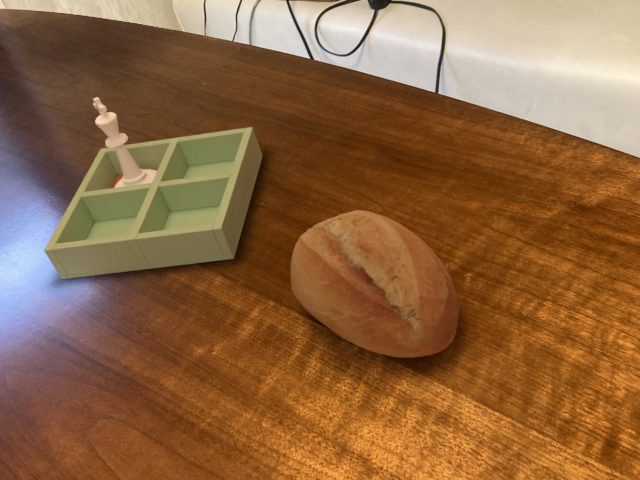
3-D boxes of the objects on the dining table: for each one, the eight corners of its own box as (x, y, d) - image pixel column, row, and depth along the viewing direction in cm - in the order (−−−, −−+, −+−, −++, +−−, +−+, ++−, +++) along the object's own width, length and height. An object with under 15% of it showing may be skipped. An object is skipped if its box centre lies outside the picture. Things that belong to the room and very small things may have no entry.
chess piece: (148, 169, 79) (106, 80, 72) (173, 184, 76) (132, 92, 69) (107, 194, 77) (59, 104, 70) (131, 210, 74) (84, 118, 67)
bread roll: (397, 406, 52) (374, 323, 46) (270, 310, 61) (238, 231, 55) (494, 324, 55) (483, 238, 50) (361, 245, 65) (340, 166, 59)
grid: (61, 279, 69) (43, 250, 66) (114, 176, 80) (100, 148, 78) (234, 259, 66) (221, 228, 64) (262, 155, 78) (252, 126, 76)
